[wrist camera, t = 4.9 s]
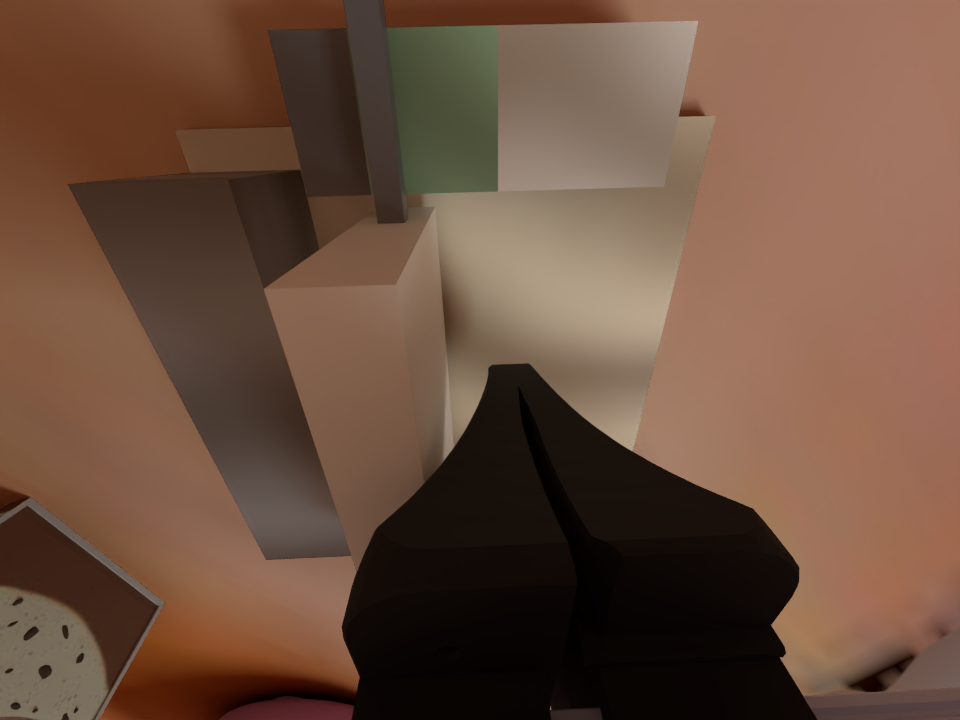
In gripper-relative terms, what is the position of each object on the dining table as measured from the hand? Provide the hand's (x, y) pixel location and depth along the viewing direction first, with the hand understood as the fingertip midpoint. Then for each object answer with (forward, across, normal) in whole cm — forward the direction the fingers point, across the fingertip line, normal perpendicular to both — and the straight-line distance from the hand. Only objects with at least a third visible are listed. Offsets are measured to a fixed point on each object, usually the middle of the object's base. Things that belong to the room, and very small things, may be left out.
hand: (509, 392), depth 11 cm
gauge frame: (+3, +1, 0) cm, 3 cm away
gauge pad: (+2, +3, -2) cm, 4 cm away
